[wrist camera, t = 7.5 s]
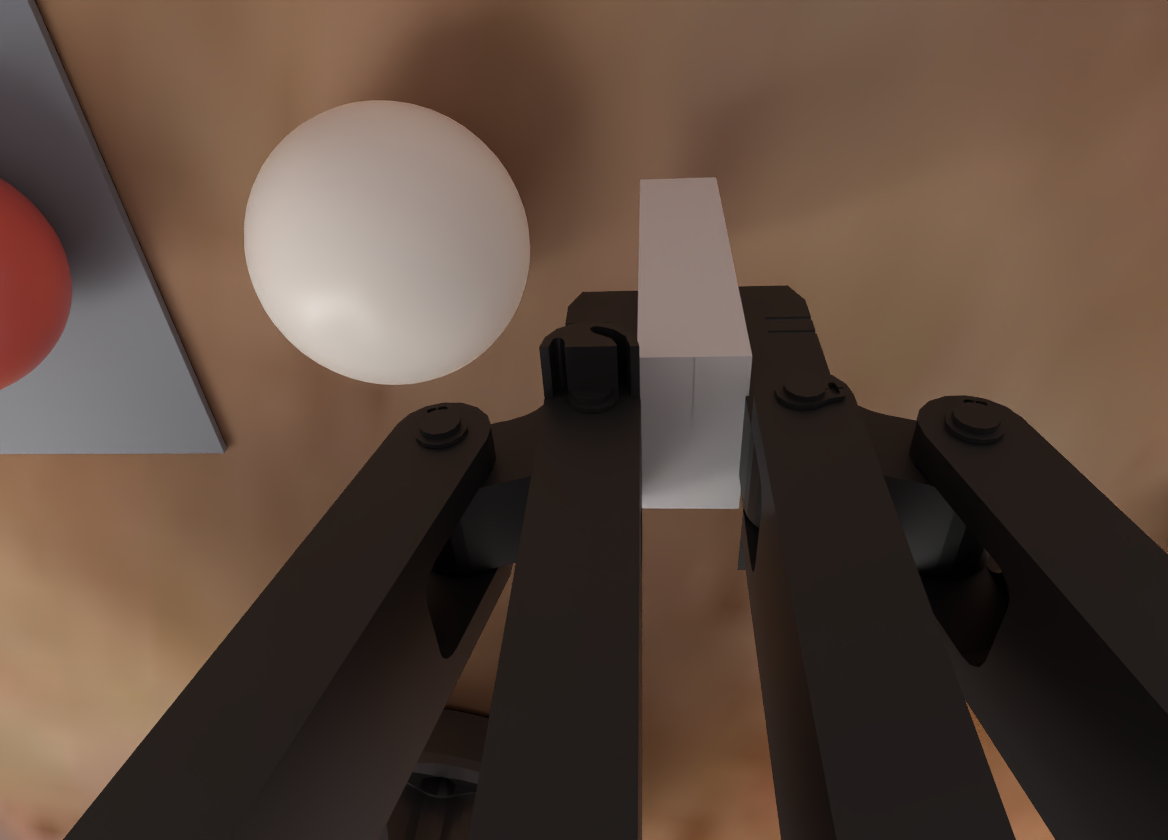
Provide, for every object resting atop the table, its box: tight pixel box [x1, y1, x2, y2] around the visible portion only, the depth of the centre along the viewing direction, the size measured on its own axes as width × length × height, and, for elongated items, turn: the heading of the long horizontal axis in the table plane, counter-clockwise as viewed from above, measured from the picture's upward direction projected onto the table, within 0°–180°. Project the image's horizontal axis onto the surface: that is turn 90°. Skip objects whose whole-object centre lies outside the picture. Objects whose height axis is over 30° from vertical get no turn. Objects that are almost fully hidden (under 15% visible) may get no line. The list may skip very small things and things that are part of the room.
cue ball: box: [244, 100, 530, 385], centre depth 16 cm, size 6×6×6 cm
